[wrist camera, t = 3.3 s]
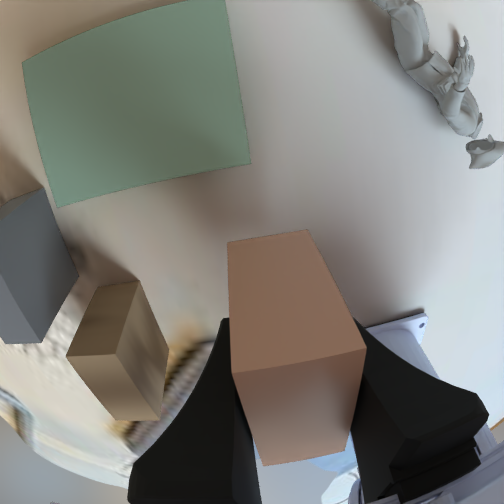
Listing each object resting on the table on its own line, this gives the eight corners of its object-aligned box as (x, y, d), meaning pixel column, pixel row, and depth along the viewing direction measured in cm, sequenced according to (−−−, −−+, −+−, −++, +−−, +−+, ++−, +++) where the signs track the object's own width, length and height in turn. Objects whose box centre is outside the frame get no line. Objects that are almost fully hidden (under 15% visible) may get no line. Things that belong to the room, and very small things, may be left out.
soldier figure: (389, -42, 10) (529, 107, 11) (348, 6, 14) (477, 140, 15) (344, -61, 6) (552, 168, 8) (288, 17, 11) (472, 208, 12)
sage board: (248, 156, 15) (251, 164, 14) (69, 197, 15) (57, 207, 14) (223, 2, 11) (223, -6, 10) (36, 62, 11) (21, 62, 10)
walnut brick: (169, 348, 21) (160, 420, 16) (131, 352, 21) (115, 420, 16) (139, 280, 18) (115, 354, 13) (97, 286, 18) (65, 356, 13)
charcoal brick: (79, 275, 17) (41, 343, 12) (45, 282, 17) (5, 343, 12) (44, 187, 14) (-17, 235, 9) (10, 200, 14) (-49, 247, 9)
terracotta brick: (312, 341, 15) (344, 450, 9) (250, 351, 15) (263, 466, 9) (307, 229, 12) (366, 347, 6) (227, 242, 12) (231, 373, 6)
